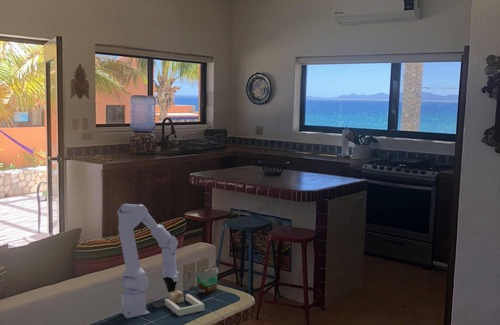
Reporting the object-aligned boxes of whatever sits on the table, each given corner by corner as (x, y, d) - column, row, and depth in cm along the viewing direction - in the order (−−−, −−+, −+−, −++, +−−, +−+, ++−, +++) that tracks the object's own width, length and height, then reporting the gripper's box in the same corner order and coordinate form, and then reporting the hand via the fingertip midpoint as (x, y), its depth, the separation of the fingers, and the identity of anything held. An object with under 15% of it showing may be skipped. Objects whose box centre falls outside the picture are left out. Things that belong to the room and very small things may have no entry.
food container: (207, 296, 233) (205, 273, 232) (196, 293, 237) (195, 271, 236) (225, 288, 243) (224, 266, 242) (215, 286, 246) (213, 264, 246)
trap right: (190, 300, 228) (190, 300, 228) (185, 297, 232) (185, 296, 232) (200, 298, 230) (199, 297, 230) (195, 295, 235) (195, 294, 235)
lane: (178, 316, 210) (178, 309, 209) (164, 304, 224) (164, 298, 224) (204, 310, 215) (204, 304, 215) (189, 299, 229) (188, 293, 229)
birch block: (172, 304, 224) (172, 295, 224) (168, 301, 229) (168, 292, 228) (184, 302, 227) (183, 293, 226) (179, 299, 231) (178, 290, 231)
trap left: (156, 308, 221) (156, 307, 221) (152, 304, 225) (151, 303, 225) (166, 305, 223) (166, 305, 223) (162, 302, 228) (162, 301, 228)
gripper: (184, 264, 227) (186, 296, 228) (172, 258, 239) (174, 288, 240) (168, 267, 223) (170, 299, 224) (157, 260, 236) (159, 291, 237)
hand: (171, 294), depth 232 cm, fingers closed
